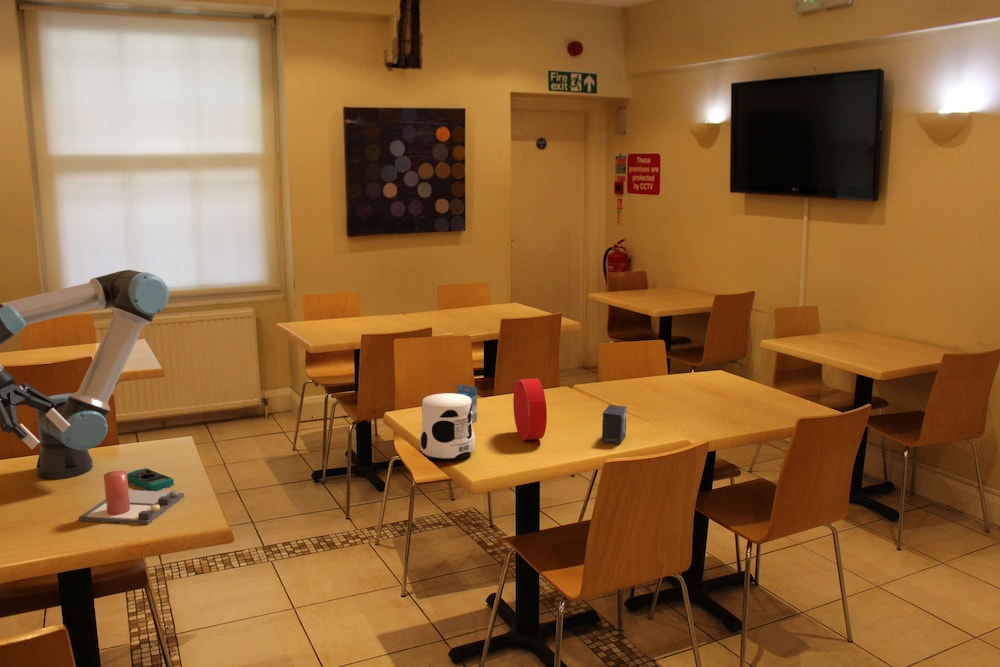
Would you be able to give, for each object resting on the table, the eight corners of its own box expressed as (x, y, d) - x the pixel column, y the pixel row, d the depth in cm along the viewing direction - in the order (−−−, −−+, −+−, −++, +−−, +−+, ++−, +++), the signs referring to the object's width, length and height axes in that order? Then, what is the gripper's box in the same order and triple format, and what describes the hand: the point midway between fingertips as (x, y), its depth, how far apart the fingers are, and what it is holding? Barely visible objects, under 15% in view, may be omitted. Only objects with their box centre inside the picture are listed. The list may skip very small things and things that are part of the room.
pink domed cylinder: (115, 506, 231) (111, 470, 229) (134, 507, 230) (130, 471, 228) (102, 514, 225) (99, 477, 224) (122, 515, 225) (119, 478, 223)
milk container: (428, 444, 284) (427, 391, 280) (480, 447, 281) (480, 393, 277) (413, 462, 267) (411, 405, 264) (467, 466, 264) (467, 408, 260)
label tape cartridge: (451, 419, 311) (450, 386, 308) (457, 417, 314) (457, 383, 312) (471, 423, 306) (470, 389, 303) (477, 421, 309) (477, 387, 307)
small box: (620, 445, 282) (621, 414, 280) (601, 443, 285) (601, 412, 282) (627, 435, 292) (627, 405, 290) (607, 434, 294) (608, 404, 292)
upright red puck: (546, 446, 281) (547, 386, 277) (529, 448, 280) (529, 388, 276) (529, 428, 300) (530, 372, 296) (513, 429, 299) (513, 373, 295)
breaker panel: (119, 493, 243) (119, 484, 243) (184, 496, 241) (183, 487, 240) (78, 520, 225) (77, 511, 224) (148, 524, 222) (147, 515, 222)
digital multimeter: (146, 475, 258) (146, 466, 257) (175, 486, 249) (174, 477, 248) (123, 482, 252) (122, 473, 252) (151, 494, 243) (150, 484, 243)
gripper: (13, 375, 239) (69, 430, 241) (-50, 401, 215) (12, 462, 217) (30, 357, 238) (87, 413, 240) (-32, 381, 213) (31, 443, 215)
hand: (51, 437), depth 228 cm, fingers open, 13 cm apart
